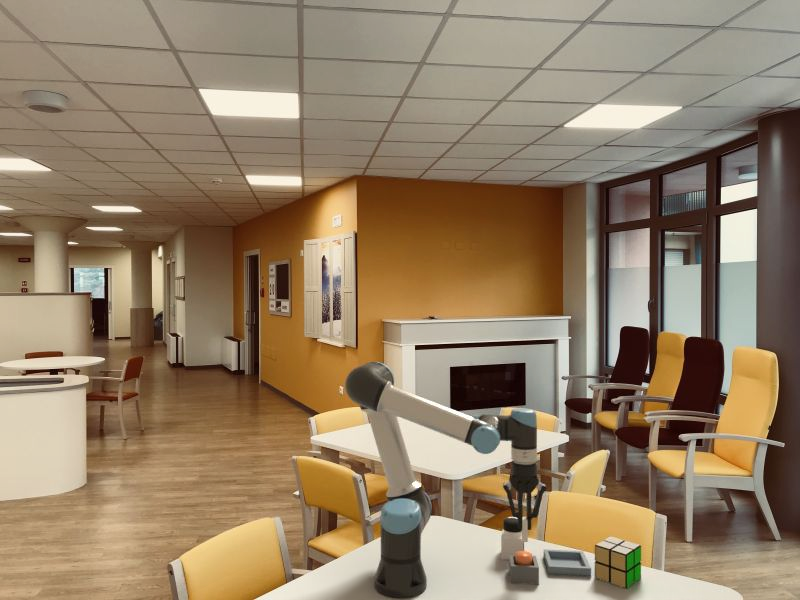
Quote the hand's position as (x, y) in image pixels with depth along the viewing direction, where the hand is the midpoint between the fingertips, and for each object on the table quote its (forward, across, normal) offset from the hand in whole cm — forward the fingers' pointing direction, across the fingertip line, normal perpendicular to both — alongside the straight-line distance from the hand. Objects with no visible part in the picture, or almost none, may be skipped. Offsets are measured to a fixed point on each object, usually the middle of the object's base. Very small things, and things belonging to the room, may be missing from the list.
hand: (524, 540), depth 182 cm
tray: (+11, +14, +9) cm, 20 cm away
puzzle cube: (+12, +28, +3) cm, 30 cm away
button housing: (+11, 0, 0) cm, 11 cm away
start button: (+7, 0, 0) cm, 7 cm away
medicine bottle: (+12, -2, +15) cm, 19 cm away
